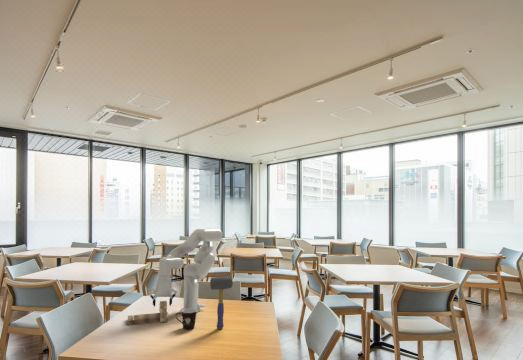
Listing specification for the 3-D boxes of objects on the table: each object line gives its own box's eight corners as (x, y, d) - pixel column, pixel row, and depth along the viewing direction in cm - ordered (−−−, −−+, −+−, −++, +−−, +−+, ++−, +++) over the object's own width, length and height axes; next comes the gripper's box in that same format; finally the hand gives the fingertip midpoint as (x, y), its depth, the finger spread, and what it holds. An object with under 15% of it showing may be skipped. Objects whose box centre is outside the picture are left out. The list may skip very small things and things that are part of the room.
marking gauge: (164, 315, 213) (165, 299, 214) (167, 322, 200) (168, 305, 201) (158, 315, 211) (159, 300, 212) (160, 322, 199) (161, 305, 199)
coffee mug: (199, 327, 193) (199, 309, 194) (190, 331, 186) (190, 313, 186) (183, 324, 198) (184, 307, 199) (173, 328, 190) (174, 310, 191)
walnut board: (165, 316, 212) (166, 311, 213) (167, 320, 203) (167, 316, 203) (127, 319, 204) (127, 315, 204) (127, 325, 195) (128, 320, 195)
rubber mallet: (228, 325, 197) (229, 274, 200) (232, 329, 190) (233, 277, 193) (208, 327, 193) (209, 275, 195) (211, 332, 186) (212, 278, 188)
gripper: (177, 276, 216) (175, 303, 214) (149, 277, 209) (147, 304, 207) (178, 278, 209) (177, 306, 207) (150, 279, 202) (148, 308, 200)
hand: (162, 305), depth 207 cm, fingers open, 9 cm apart
